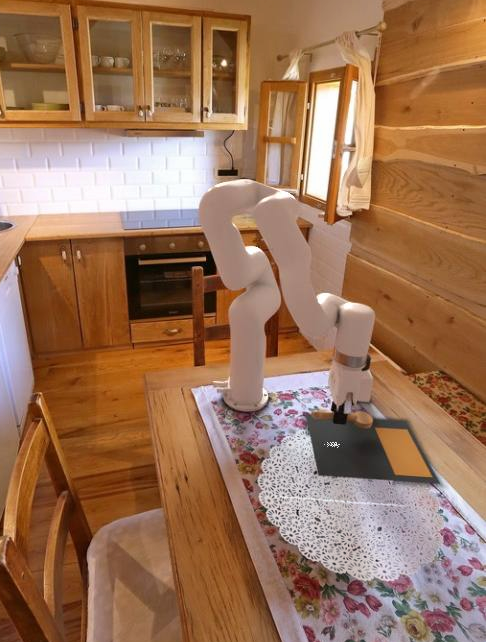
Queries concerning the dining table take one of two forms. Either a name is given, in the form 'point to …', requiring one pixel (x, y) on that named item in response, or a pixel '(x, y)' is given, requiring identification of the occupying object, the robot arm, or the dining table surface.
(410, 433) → the mat
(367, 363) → the container
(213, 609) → the dining table surface
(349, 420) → the wooden rod with disc
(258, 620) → the dining table surface
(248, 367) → the robot arm
